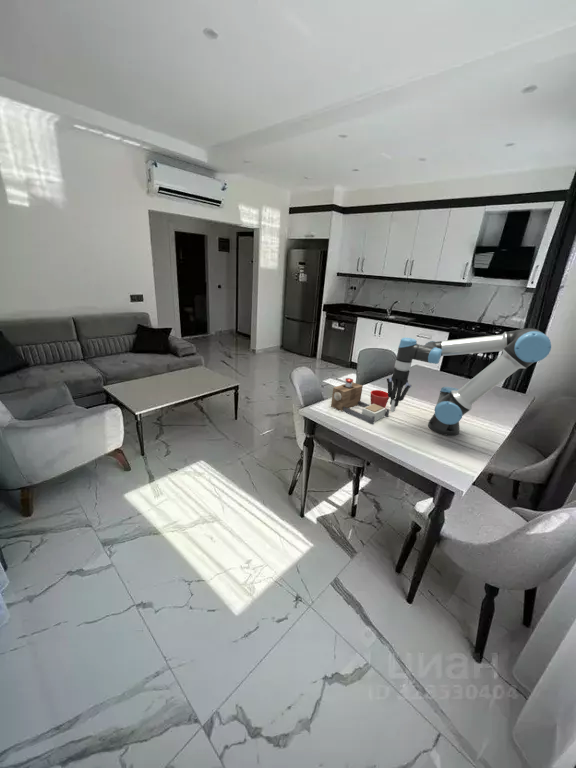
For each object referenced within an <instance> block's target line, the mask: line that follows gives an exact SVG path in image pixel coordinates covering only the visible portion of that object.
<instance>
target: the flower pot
mask: <svg viewBox="0 0 576 768" xmlns="http://www.w3.org/2000/svg"><path fill="white" fill-rule="evenodd" d="M389 399H390V397H388V391H384V390H380V389H374V390H371V391H370V405H372V404H376V405H379V406H381V407H384V408H386V406H387V404H388V401H389Z"/></svg>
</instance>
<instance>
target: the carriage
mask: <svg viewBox="0 0 576 768" xmlns="http://www.w3.org/2000/svg"><path fill="white" fill-rule="evenodd" d="M386 410H387V408H386V407H385V408H384V407H381V406H379V405H376V404H372V405H371V404H369V406H367V407H365V408H364V407H362V410H361V414H363V415H365V416H367V417H370V418H372V416H375V420H374V422H376V421H378V420H381V419H383V418H385V417H386V416H385V411H386Z"/></svg>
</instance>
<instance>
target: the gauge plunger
mask: <svg viewBox="0 0 576 768" xmlns="http://www.w3.org/2000/svg"><path fill="white" fill-rule="evenodd" d="M352 382H354V379H353V378H350V377H349V378H348V377H347V378H345V384H346V385H345V387H346V388H348V389H350V388H351V387H352Z"/></svg>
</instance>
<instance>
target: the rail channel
mask: <svg viewBox="0 0 576 768" xmlns="http://www.w3.org/2000/svg"><path fill="white" fill-rule="evenodd" d="M369 405H370V404H369V403H366V402H363V401H361V400H360V401H358V405H357V406H359V407H362V408H365V407H367V406H369ZM342 412H344V413H346V414H348V415H351V416H352V417H356V418H357V419H360V420H362V421H364V422H366V423H368V424H370V425H374V424H375V421H374V420H375V416H372V418H370V417H367V416H365V415H363V414H362V413H360V412H358V411H356V410H353V409H351V408H347V407H343V411H342ZM389 414H390V409H389V408H386V411H385V416H384V417H386V418H389Z"/></svg>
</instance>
